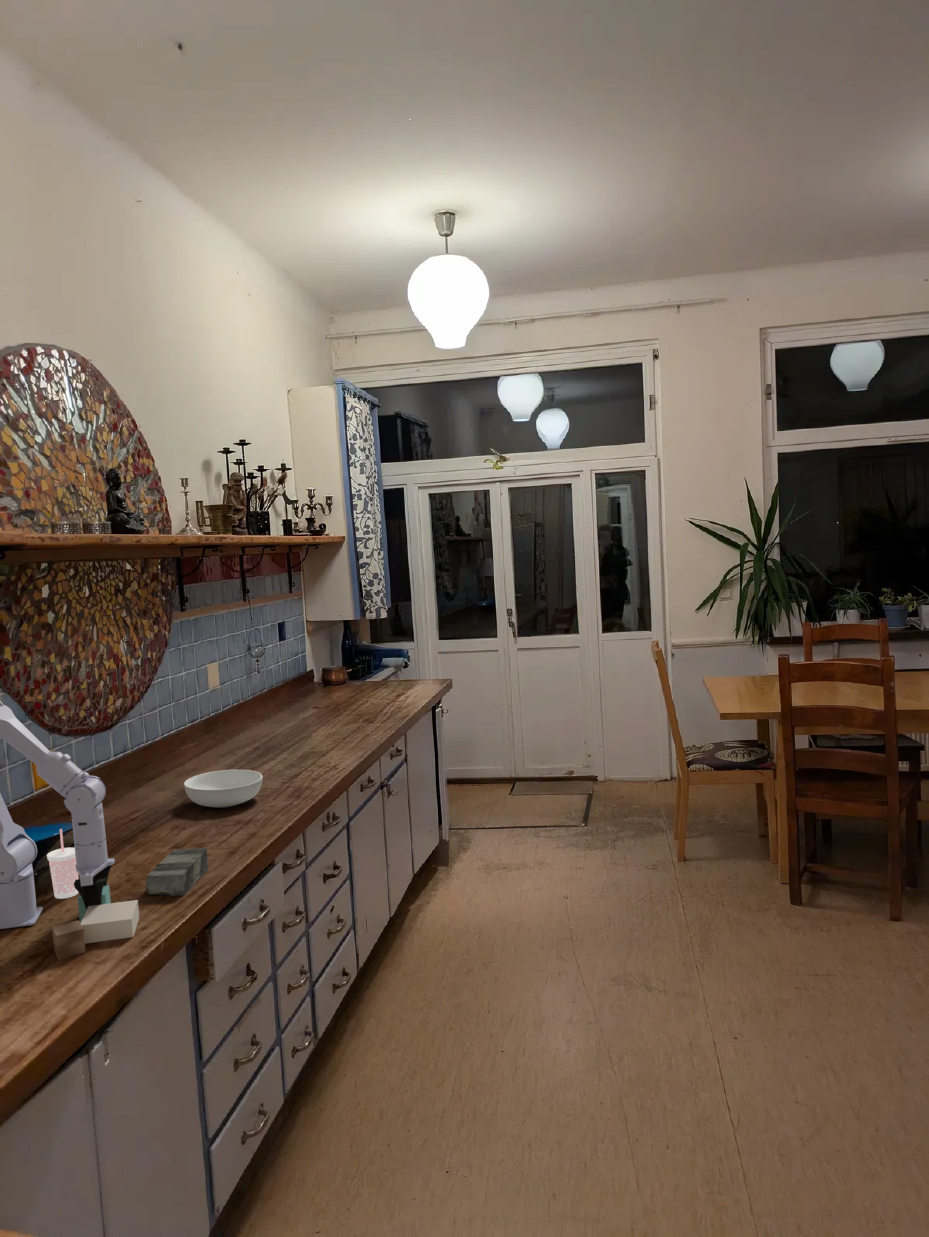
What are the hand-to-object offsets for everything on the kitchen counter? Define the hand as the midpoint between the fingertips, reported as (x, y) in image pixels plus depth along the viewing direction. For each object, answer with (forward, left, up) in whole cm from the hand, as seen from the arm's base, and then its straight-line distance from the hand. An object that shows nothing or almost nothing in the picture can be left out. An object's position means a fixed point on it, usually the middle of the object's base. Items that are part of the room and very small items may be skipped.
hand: (96, 907), depth 178 cm
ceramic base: (+4, -8, -2) cm, 9 cm away
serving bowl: (+22, +70, -2) cm, 73 cm away
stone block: (+14, +13, -2) cm, 19 cm away
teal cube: (0, 0, -2) cm, 2 cm away
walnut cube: (-2, -15, -2) cm, 15 cm away
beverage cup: (-8, +14, -2) cm, 16 cm away
